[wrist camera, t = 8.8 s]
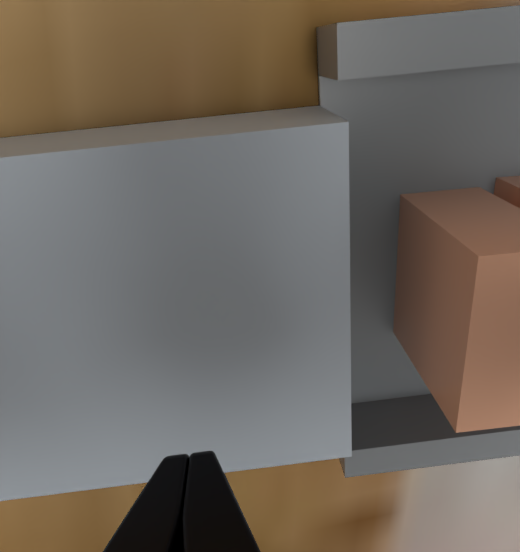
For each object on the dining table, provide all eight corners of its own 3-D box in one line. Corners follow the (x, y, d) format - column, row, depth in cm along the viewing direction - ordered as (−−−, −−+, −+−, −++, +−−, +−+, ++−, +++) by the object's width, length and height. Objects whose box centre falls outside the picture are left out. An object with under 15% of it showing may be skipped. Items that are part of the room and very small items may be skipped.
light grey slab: (328, 386, 18) (351, 456, 15) (4, 425, 18) (-42, 506, 15) (318, 105, 14) (348, 121, 11) (-108, 148, 14) (-207, 179, 10)
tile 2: (393, 332, 17) (462, 324, 17) (455, 433, 13) (548, 422, 13) (400, 194, 15) (479, 186, 15) (478, 256, 11) (590, 244, 11)
